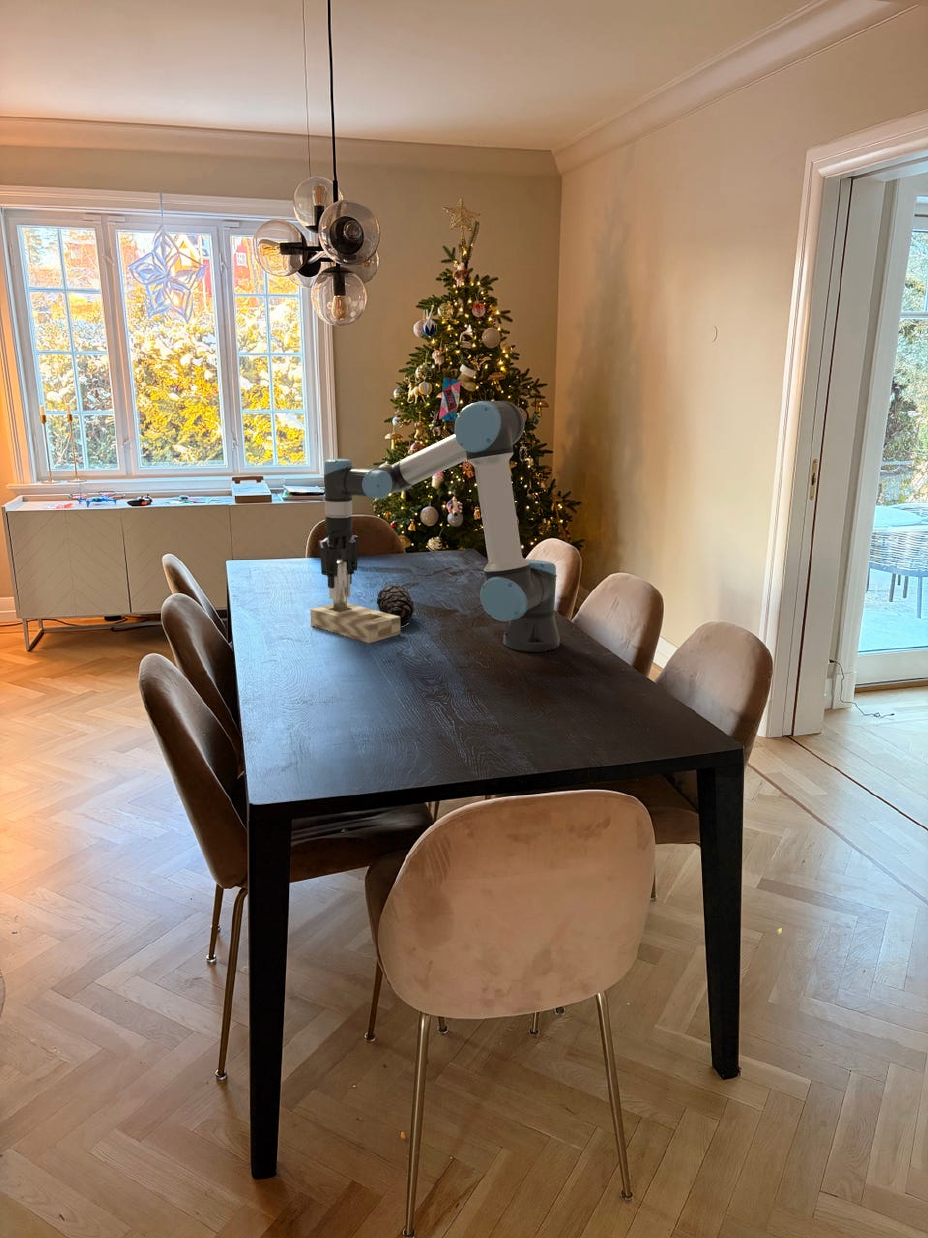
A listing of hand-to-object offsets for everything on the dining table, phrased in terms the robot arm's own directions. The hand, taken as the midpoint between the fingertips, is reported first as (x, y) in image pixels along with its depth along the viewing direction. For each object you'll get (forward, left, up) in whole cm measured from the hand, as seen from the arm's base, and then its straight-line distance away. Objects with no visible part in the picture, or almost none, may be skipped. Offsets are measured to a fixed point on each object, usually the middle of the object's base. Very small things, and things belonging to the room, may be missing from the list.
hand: (340, 597), depth 253 cm
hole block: (-6, 0, -8) cm, 10 cm away
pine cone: (-8, -16, -9) cm, 19 cm away
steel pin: (0, 0, -4) cm, 4 cm away
